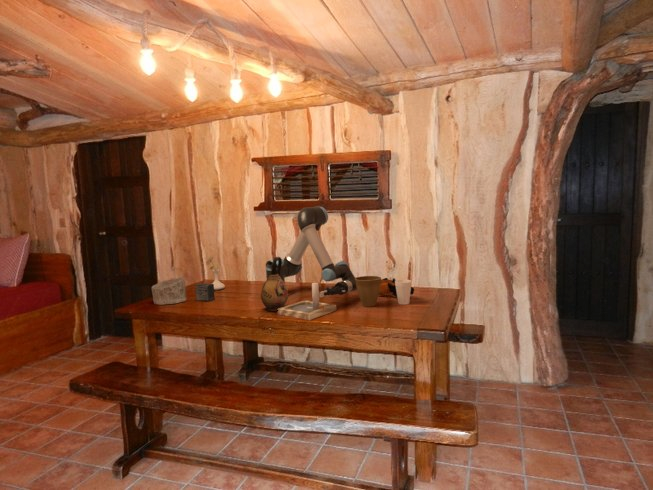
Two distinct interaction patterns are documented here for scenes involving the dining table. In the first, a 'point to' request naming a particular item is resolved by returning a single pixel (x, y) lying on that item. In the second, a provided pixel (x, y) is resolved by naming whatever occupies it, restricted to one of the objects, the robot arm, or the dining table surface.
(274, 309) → the ceramic jug
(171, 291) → the petrified wood
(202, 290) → the small box
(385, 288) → the tool
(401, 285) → the foam cup
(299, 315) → the wooden square tray
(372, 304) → the plant pot
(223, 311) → the dining table surface
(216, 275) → the flower in vase
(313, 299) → the beige peg stand
